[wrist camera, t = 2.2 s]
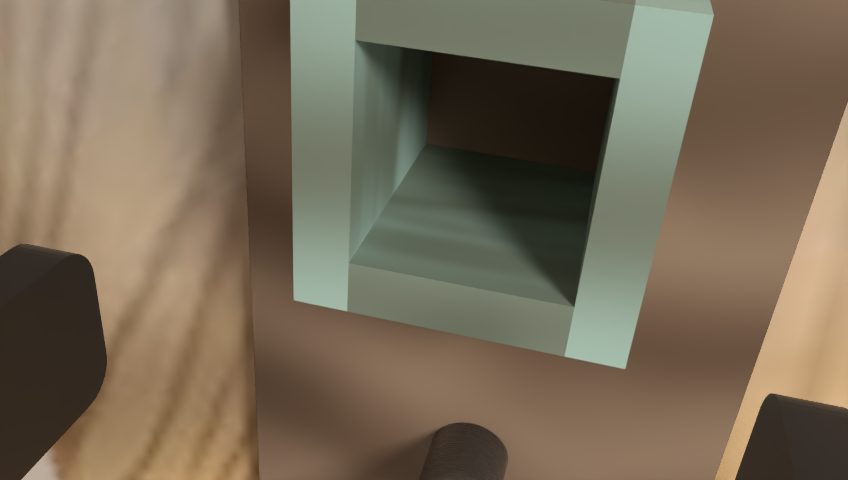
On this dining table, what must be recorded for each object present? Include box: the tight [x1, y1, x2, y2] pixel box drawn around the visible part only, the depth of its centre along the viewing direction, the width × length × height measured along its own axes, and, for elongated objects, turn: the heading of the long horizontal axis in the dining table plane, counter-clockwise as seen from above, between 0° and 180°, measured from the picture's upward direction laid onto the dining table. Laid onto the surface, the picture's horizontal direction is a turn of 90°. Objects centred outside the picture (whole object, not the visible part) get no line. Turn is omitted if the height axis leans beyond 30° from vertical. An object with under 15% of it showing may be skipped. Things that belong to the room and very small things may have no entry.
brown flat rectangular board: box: [239, 0, 848, 480], centre depth 22 cm, size 22×14×1 cm, turn 176°
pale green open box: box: [290, 0, 714, 369], centre depth 16 cm, size 6×6×6 cm
